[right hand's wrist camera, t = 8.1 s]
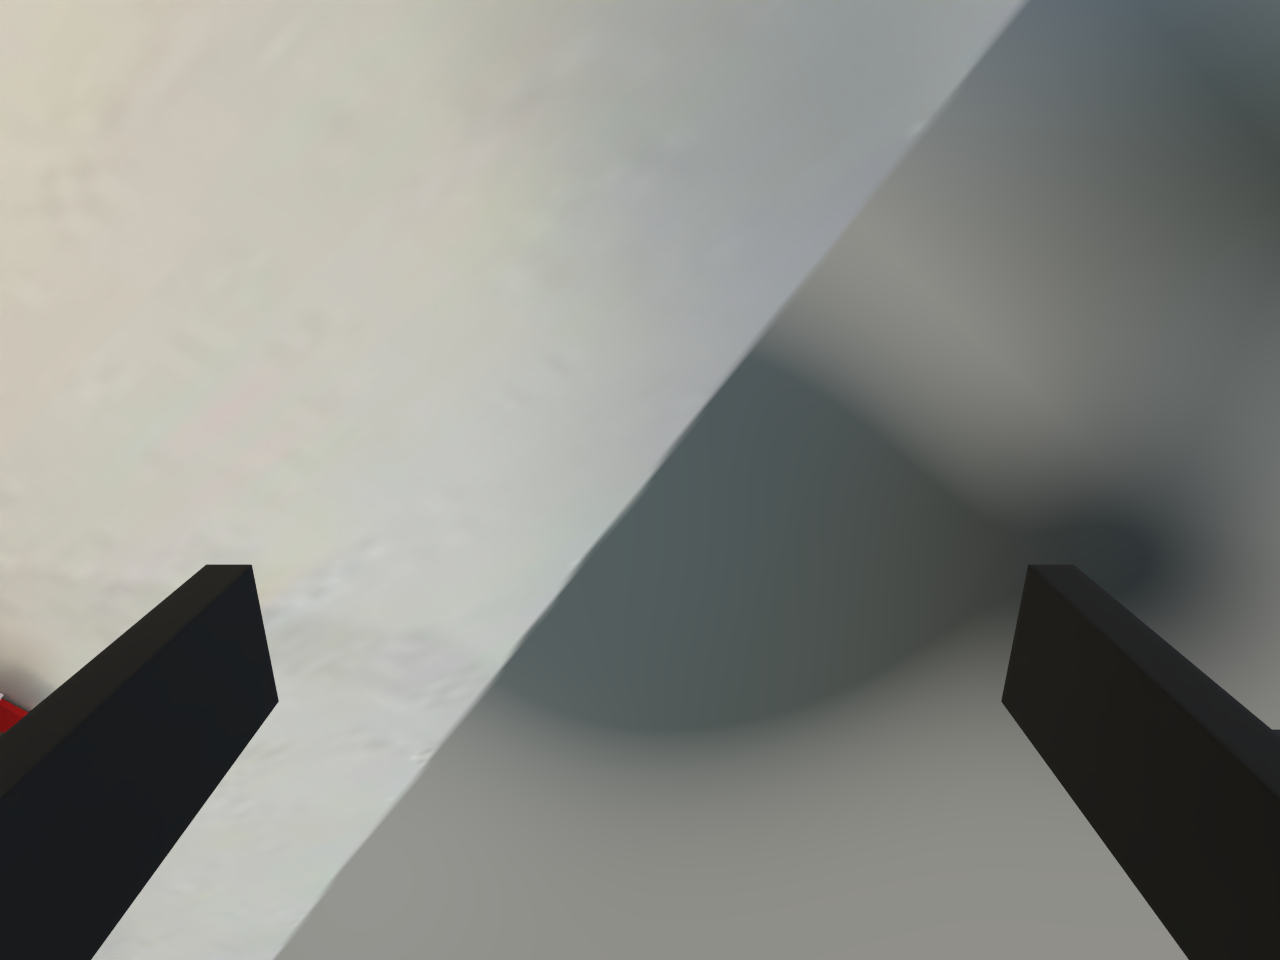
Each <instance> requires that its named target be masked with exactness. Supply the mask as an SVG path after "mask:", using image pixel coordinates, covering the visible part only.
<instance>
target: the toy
mask: <svg viewBox="0 0 1280 960" xmlns="http://www.w3.org/2000/svg"><path fill="white" fill-rule="evenodd" d="M3 696H4V695H3V694H2V693H0V732H6V731H7V730H8V729H10V728H11V727H12V726H13V725H14V724H16V723H17V722H18V721H19V720H20V719H22V718H23V717H24V716H25V715H26V714H28V712H26V711H24V710H22V709H20V708H19V707H17V706H15V705H13V704H11V703H9V702H7V701H5V700H4V699H2V697H3Z"/></svg>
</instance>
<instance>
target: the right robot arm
mask: <svg viewBox="0 0 1280 960" xmlns="http://www.w3.org/2000/svg"><path fill="white" fill-rule="evenodd" d="M278 702H279V701H278V696H277V691H276V686H275V681H274V676H273V670H272V665H271V660H270V655H269V650H268V645H267V640H266V635H265V630H264V625H263V620H262V615H261V610H260V604H259V599H258V594H257V589H256V584H255V579H254V574H253V569H252V565H205V566H204V567H203V568H202V569H201V570H199V571H198V572H197V573H196V574H195V575H193V576H192V577H191V578H190V579H189V580H187V581H186V582H185V583H184V584H183V585H181V586H180V587H179V588H178V589H177V590H175V591H174V592H173V593H172V594H171V595H169V596H168V597H167V598H166V599H165V600H163V601H162V602H161V603H160V604H159V605H157V606H156V607H155V608H154V609H153V610H151V611H150V612H149V613H148V614H147V615H145V616H144V617H143V618H142V619H141V620H139V621H138V622H137V623H136V624H135V625H133V626H132V627H131V628H130V629H129V630H127V631H126V632H125V633H124V634H123V635H121V636H120V637H119V638H118V639H117V640H115V641H114V642H113V643H112V644H111V645H109V646H108V647H107V648H106V649H105V650H103V651H102V652H101V653H100V654H99V655H97V656H96V657H95V658H94V659H93V660H91V661H90V662H89V663H88V664H86V665H85V666H84V667H83V668H82V669H80V670H79V671H78V672H77V673H76V674H74V675H73V676H72V677H71V678H70V679H68V680H67V681H66V682H65V683H64V684H62V685H61V686H60V687H59V688H58V689H56V690H55V691H54V692H53V693H52V694H50V695H49V696H48V697H47V698H46V699H44V700H43V701H42V702H41V703H40V704H38V705H37V706H36V707H35V708H34V709H32V710H31V711H30V712H29V713H28V714H26V715H25V716H24V717H23V718H22V719H20V720H19V721H18V722H17V723H16V724H14V725H13V726H12V727H11V728H10V729H8V730H7V731H6V732H0V960H91V959H92V958H93V956H94V955H95V954H96V952H97V951H98V949H99V948H100V947H101V945H102V944H103V943H104V941H105V940H106V938H107V937H108V936H109V934H110V933H111V932H112V930H113V929H114V927H115V926H116V925H117V923H118V922H119V921H120V919H121V918H122V916H123V915H124V914H125V912H126V911H127V909H128V908H129V907H130V905H131V904H132V903H133V901H134V900H135V898H136V897H137V896H138V894H139V893H140V892H141V890H142V889H143V887H144V886H145V885H146V883H147V882H148V881H149V879H150V878H151V876H152V875H153V874H154V872H155V871H156V870H157V868H158V867H159V865H160V864H161V863H162V861H163V860H164V859H165V857H166V856H167V854H168V853H169V852H170V850H171V849H172V848H173V846H174V845H175V843H176V842H177V841H178V839H179V838H180V836H181V835H182V834H183V832H184V831H185V830H186V828H187V827H188V825H189V824H190V823H191V821H192V820H193V819H194V817H195V816H196V814H197V813H198V812H199V810H200V809H201V808H202V806H203V805H204V803H205V802H206V801H207V799H208V798H209V797H210V795H211V794H212V792H213V791H214V790H215V788H216V787H217V786H218V784H219V783H220V781H221V780H222V779H223V777H224V776H225V775H226V773H227V772H228V770H229V769H230V768H231V766H232V765H233V764H234V762H235V761H236V759H237V758H238V757H239V755H240V754H241V752H242V751H243V750H244V748H245V747H246V746H247V744H248V743H249V741H250V740H251V739H252V737H253V736H254V735H255V733H256V732H257V730H258V729H259V728H260V726H261V725H262V724H263V722H264V721H265V719H266V718H267V717H268V715H269V714H270V713H271V711H272V710H273V708H274V707H275V706H276V704H277V703H278ZM1002 703H1003V704H1004V706H1005V707H1006V708H1007V710H1008V711H1009V713H1010V714H1011V715H1012V717H1013V718H1014V719H1015V721H1016V722H1017V724H1018V725H1019V726H1020V728H1021V729H1022V730H1023V732H1024V733H1025V735H1026V736H1027V737H1028V739H1029V740H1030V741H1031V743H1032V744H1033V746H1034V747H1035V748H1036V750H1037V751H1038V752H1039V754H1040V755H1041V757H1042V758H1043V759H1044V761H1045V762H1046V763H1047V765H1048V766H1049V768H1050V769H1051V770H1052V772H1053V773H1054V774H1055V776H1056V777H1057V779H1058V780H1059V781H1060V783H1061V784H1062V786H1063V787H1064V788H1065V790H1066V791H1067V792H1068V794H1069V795H1070V797H1071V798H1072V799H1073V801H1074V802H1075V803H1076V805H1077V806H1078V808H1079V809H1080V810H1081V812H1082V813H1083V814H1084V816H1085V817H1086V819H1087V820H1088V821H1089V823H1090V824H1091V825H1092V827H1093V828H1094V830H1095V831H1096V832H1097V834H1098V835H1099V836H1100V838H1101V839H1102V841H1103V842H1104V843H1105V845H1106V846H1107V848H1108V849H1109V850H1110V852H1111V853H1112V854H1113V856H1114V857H1115V858H1116V860H1117V861H1118V863H1119V864H1120V865H1121V867H1122V868H1123V870H1124V871H1125V872H1126V874H1127V875H1128V876H1129V878H1130V879H1131V881H1132V882H1133V883H1134V885H1135V886H1136V887H1137V889H1138V890H1139V892H1140V893H1141V894H1142V896H1143V897H1144V898H1145V900H1146V901H1147V903H1148V904H1149V905H1150V907H1151V908H1152V909H1153V911H1154V912H1155V914H1156V915H1157V916H1158V918H1159V919H1160V921H1161V922H1162V923H1163V925H1164V926H1165V927H1166V929H1167V930H1168V932H1169V933H1170V934H1171V936H1172V937H1173V938H1174V940H1175V941H1176V943H1177V944H1178V945H1179V947H1180V948H1181V949H1182V951H1183V952H1184V954H1185V955H1186V956H1187V958H1188V959H1189V960H1280V730H1272V729H1270V728H1269V727H1268V726H1267V725H1266V724H1264V723H1263V722H1262V721H1261V720H1260V719H1258V718H1257V717H1256V716H1255V715H1254V714H1252V713H1251V712H1250V711H1249V710H1248V709H1246V708H1245V707H1244V706H1243V705H1242V704H1240V703H1239V702H1238V701H1237V700H1236V699H1234V698H1233V697H1232V696H1231V695H1230V694H1228V693H1227V692H1226V691H1225V690H1224V689H1222V688H1221V687H1220V686H1219V685H1218V684H1216V683H1215V682H1214V681H1213V680H1211V679H1210V678H1209V677H1208V676H1207V675H1206V674H1204V673H1203V672H1202V671H1201V670H1199V669H1198V668H1197V667H1196V666H1195V665H1193V664H1192V663H1191V662H1190V661H1189V660H1187V659H1186V658H1185V657H1184V656H1183V655H1181V654H1180V653H1179V652H1178V651H1177V650H1175V649H1174V648H1173V647H1172V646H1171V645H1169V644H1168V643H1167V642H1166V641H1165V640H1163V639H1162V638H1161V637H1160V636H1159V635H1157V634H1156V633H1155V632H1154V631H1153V630H1151V629H1150V628H1149V627H1148V626H1147V625H1145V624H1144V623H1143V622H1142V621H1141V620H1139V619H1138V618H1137V617H1136V616H1135V615H1133V614H1132V613H1131V612H1130V611H1129V610H1127V609H1126V608H1125V607H1124V606H1123V605H1121V604H1120V603H1119V602H1118V601H1117V600H1115V599H1114V598H1113V597H1112V596H1110V595H1109V594H1108V593H1107V592H1106V591H1105V590H1103V589H1102V588H1101V587H1100V586H1099V585H1097V584H1096V583H1095V582H1094V581H1093V580H1091V579H1090V578H1089V577H1088V576H1087V575H1085V574H1084V573H1083V572H1082V571H1081V570H1079V569H1078V568H1077V567H1076V566H1075V565H1028V569H1027V574H1026V579H1025V584H1024V589H1023V594H1022V599H1021V605H1020V610H1019V615H1018V620H1017V625H1016V630H1015V635H1014V640H1013V645H1012V650H1011V656H1010V660H1009V665H1008V670H1007V676H1006V681H1005V686H1004V691H1003V696H1002Z"/></svg>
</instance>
